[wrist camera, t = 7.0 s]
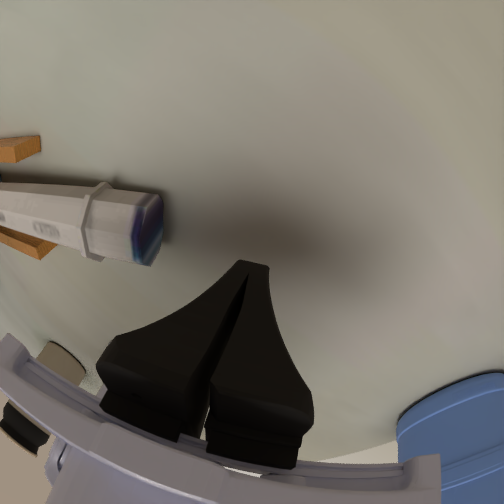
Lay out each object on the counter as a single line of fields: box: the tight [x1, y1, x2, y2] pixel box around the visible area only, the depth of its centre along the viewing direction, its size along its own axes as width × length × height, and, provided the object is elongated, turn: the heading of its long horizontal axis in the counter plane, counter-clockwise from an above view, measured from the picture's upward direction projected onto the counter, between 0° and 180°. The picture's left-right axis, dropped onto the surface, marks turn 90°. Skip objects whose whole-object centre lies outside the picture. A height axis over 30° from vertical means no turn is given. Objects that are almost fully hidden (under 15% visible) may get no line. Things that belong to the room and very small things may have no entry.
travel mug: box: [0, 342, 85, 457], centre depth 27 cm, size 8×8×18 cm
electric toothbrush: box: [0, 175, 163, 267], centre depth 15 cm, size 5×7×25 cm
